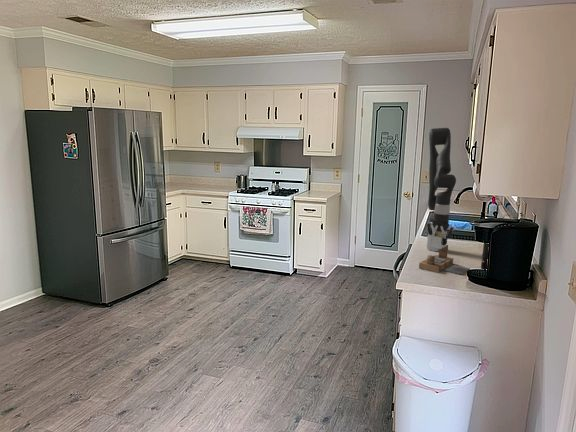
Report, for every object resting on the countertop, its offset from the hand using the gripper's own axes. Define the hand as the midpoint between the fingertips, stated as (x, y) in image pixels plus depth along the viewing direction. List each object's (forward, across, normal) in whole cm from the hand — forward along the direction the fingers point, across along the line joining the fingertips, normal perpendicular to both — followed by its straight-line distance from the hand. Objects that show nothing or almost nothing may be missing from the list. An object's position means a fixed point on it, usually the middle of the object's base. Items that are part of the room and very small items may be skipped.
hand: (438, 243), depth 227 cm
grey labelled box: (+1, 0, 0) cm, 1 cm away
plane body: (+12, 0, 0) cm, 12 cm away
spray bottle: (+12, -24, -12) cm, 30 cm away
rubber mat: (+12, -11, +1) cm, 16 cm away
